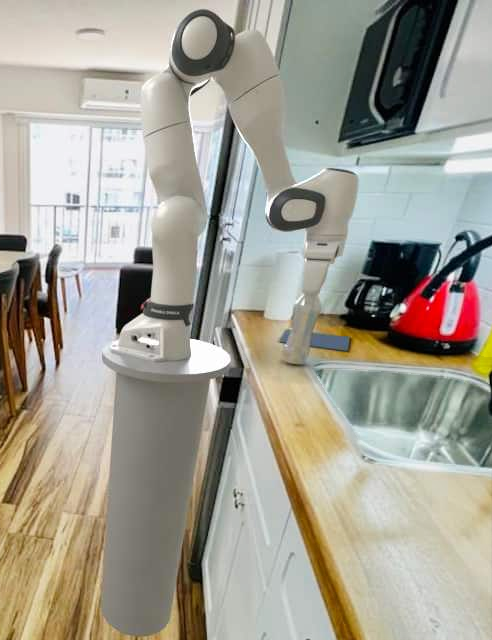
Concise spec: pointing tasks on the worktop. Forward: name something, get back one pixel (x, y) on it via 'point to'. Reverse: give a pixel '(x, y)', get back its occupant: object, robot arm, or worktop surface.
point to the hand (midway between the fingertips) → (309, 306)
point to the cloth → (324, 341)
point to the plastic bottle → (301, 331)
